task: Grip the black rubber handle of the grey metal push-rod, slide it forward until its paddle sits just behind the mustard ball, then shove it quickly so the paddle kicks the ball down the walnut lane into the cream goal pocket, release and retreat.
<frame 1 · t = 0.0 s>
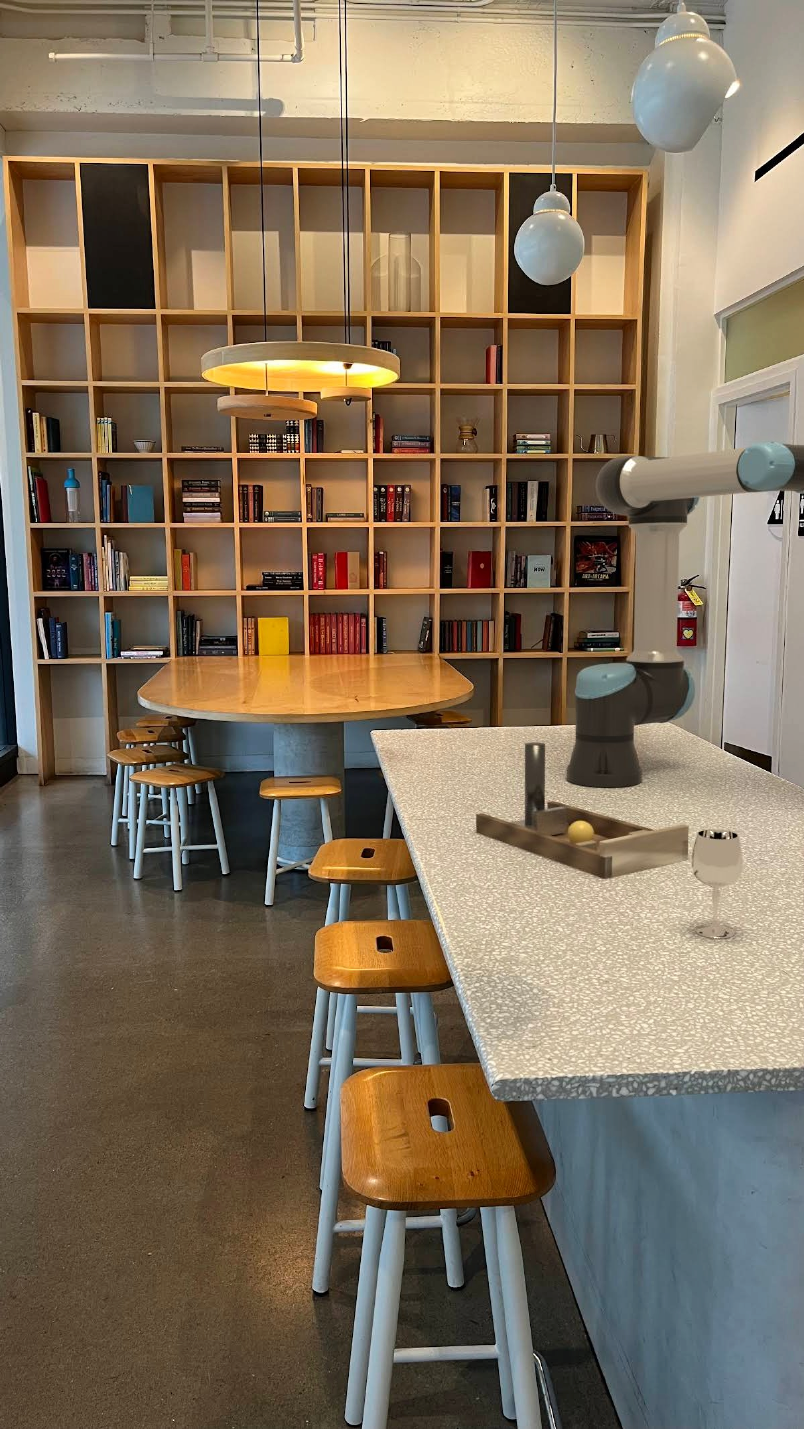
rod: (537, 787, 163), point 9 cm above the countertop, slide at 0.0 cm
wineglass: (714, 933, 122), on the countertop
ball: (580, 846, 155), point 1 cm above the countertop, touching lane
lane: (576, 852, 156), on the countertop
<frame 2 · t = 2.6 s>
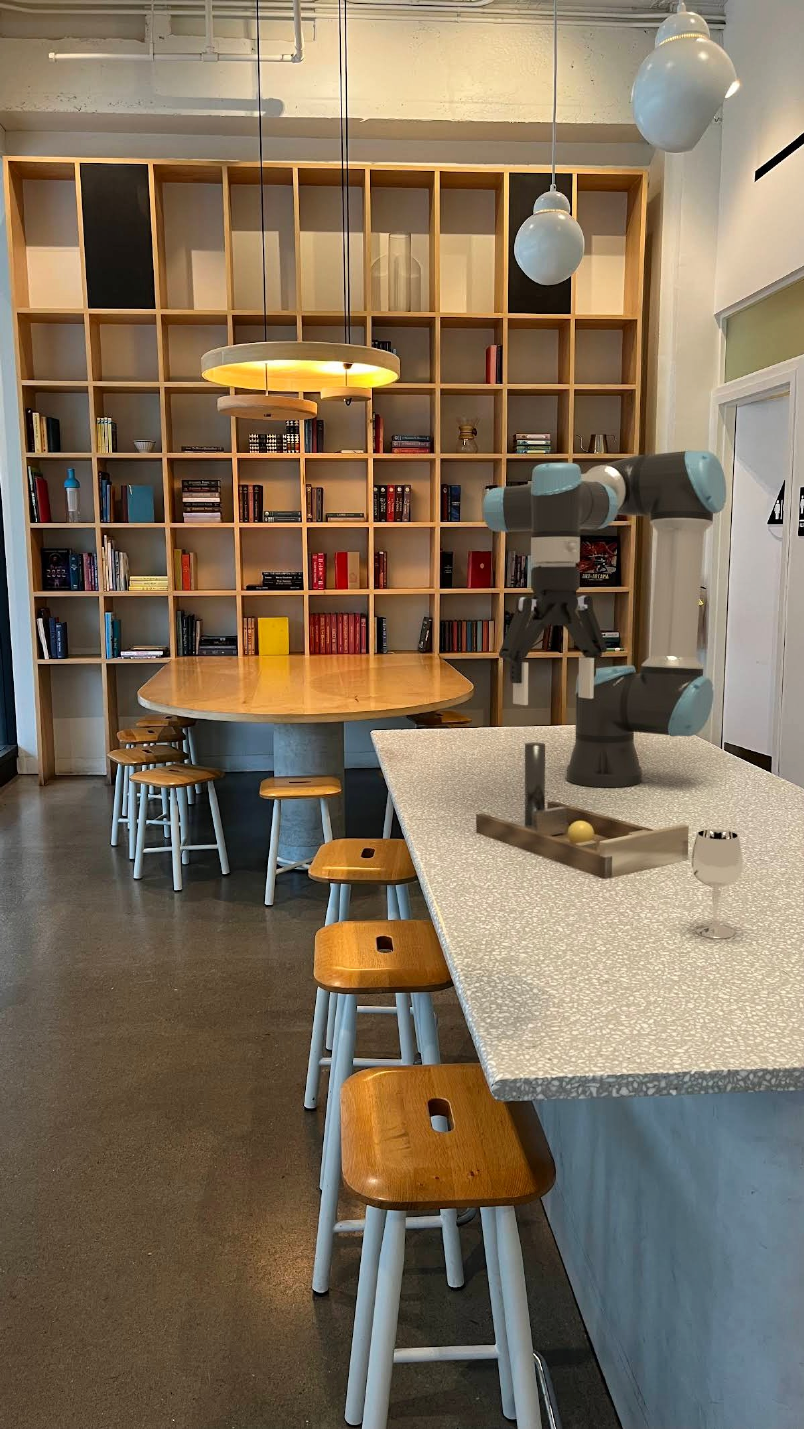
hand: (553, 701, 162), 22 cm above the countertop, fingers open, 13 cm apart
nothing on the countertop moved.
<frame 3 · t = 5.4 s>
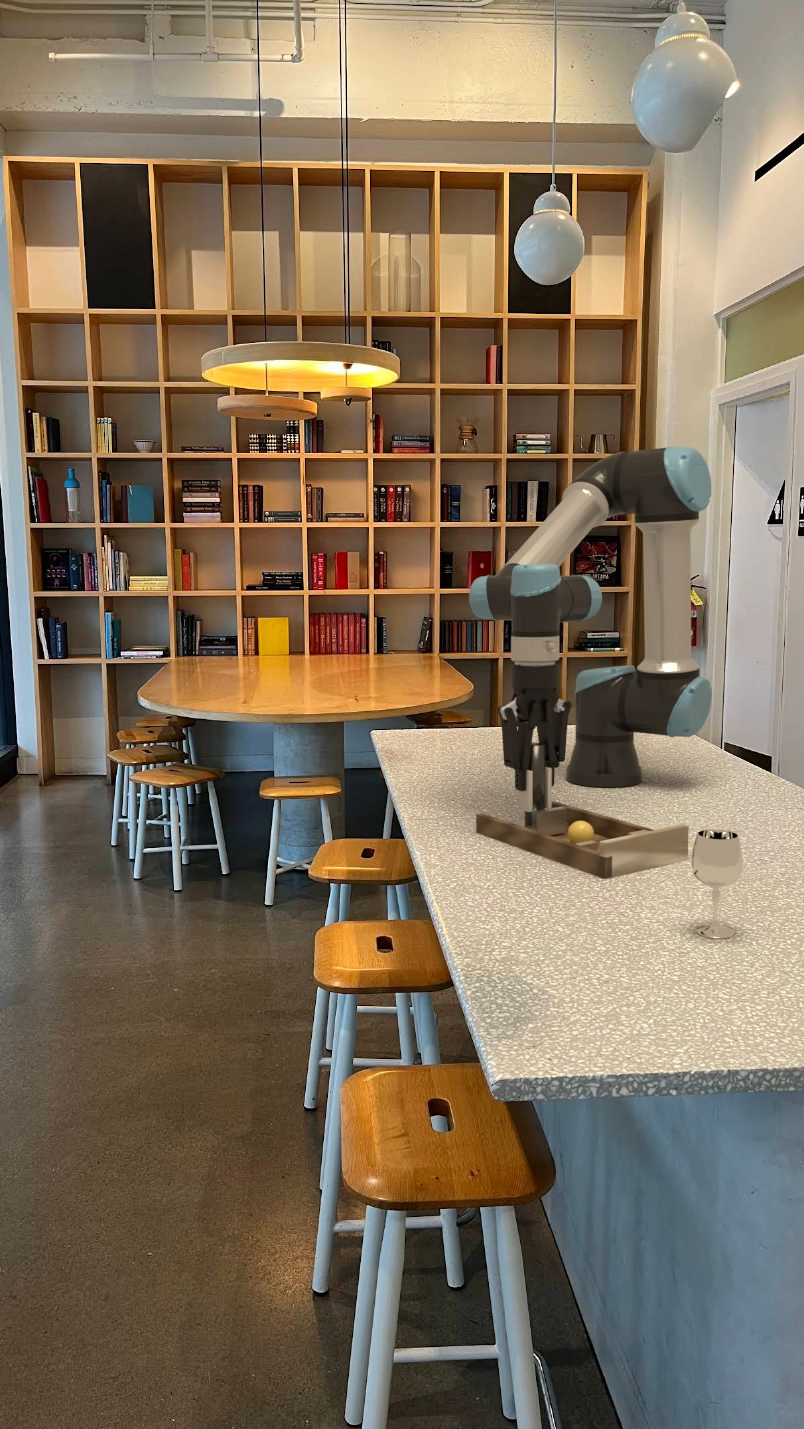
hand: (534, 808, 164), 5 cm above the countertop, fingers closed on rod, 3 cm apart
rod: (537, 787, 163), point 9 cm above the countertop, slide at 0.0 cm, touching gripper
everything else where it was.
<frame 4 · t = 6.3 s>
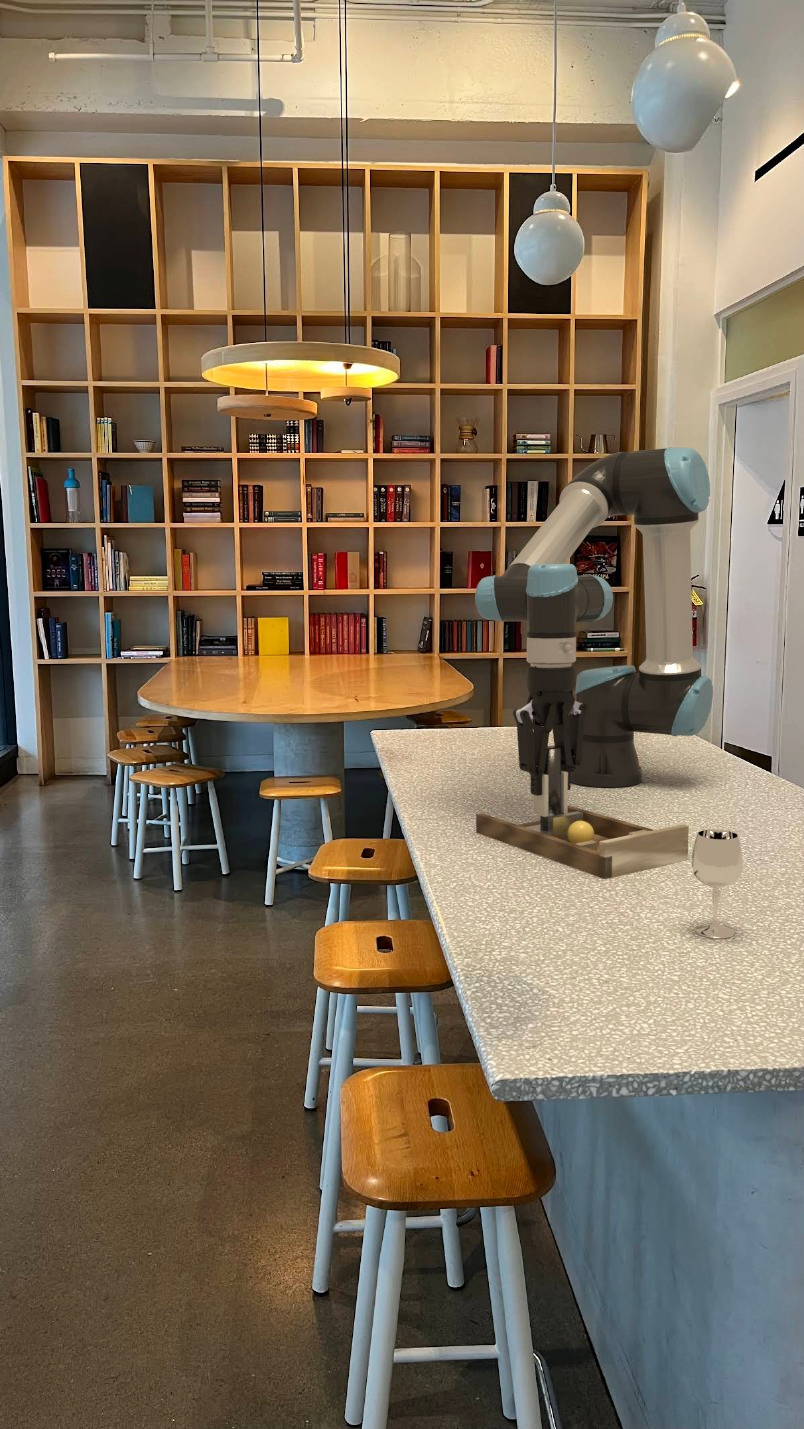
hand: (550, 812, 161), 5 cm above the countertop, fingers closed on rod, 3 cm apart
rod: (553, 792, 160), point 8 cm above the countertop, slide at 3.9 cm, touching gripper
everything else where it was.
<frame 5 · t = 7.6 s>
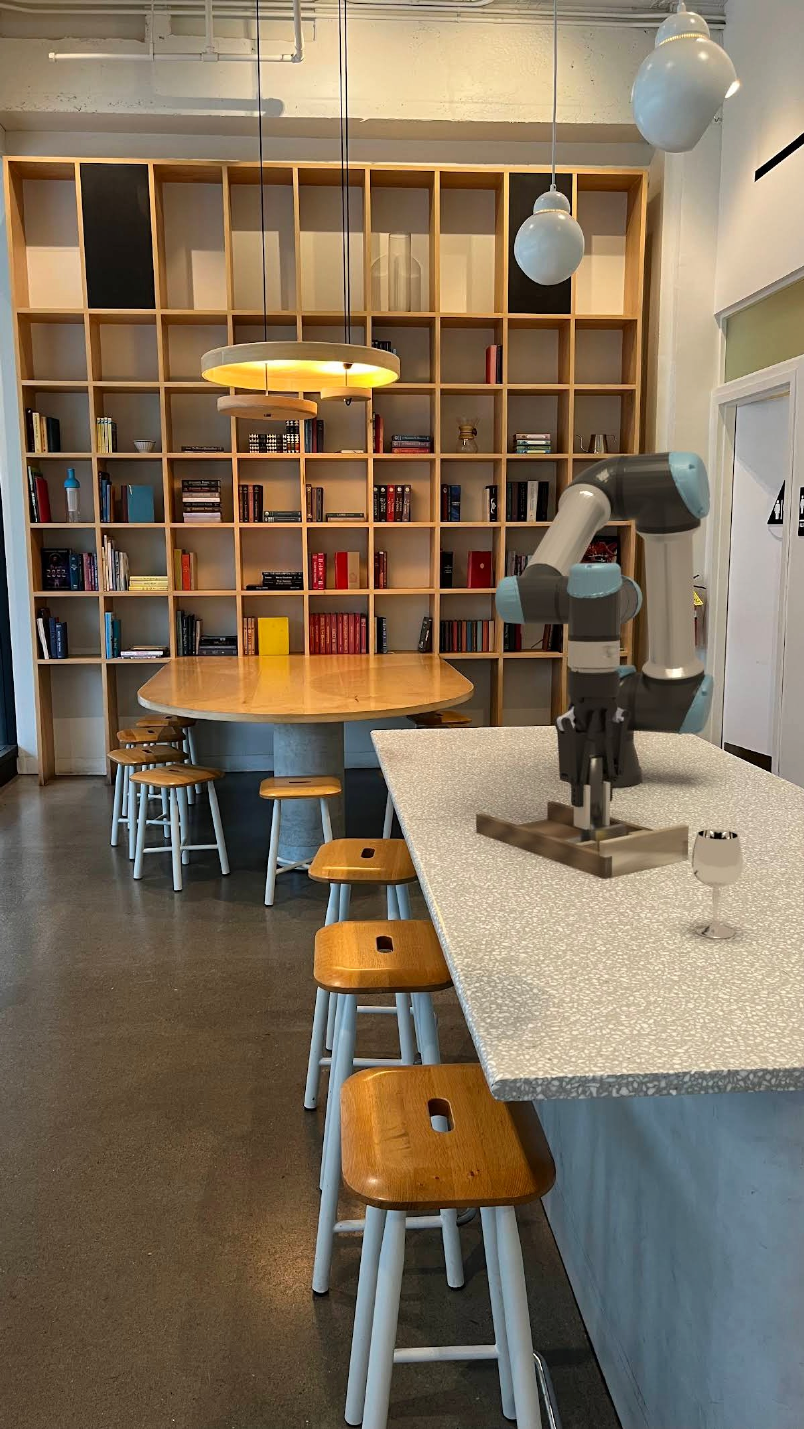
hand: (591, 825, 153), 5 cm above the countertop, fingers closed on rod, 3 cm apart
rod: (594, 803, 152), point 8 cm above the countertop, slide at 13.4 cm, touching gripper
ball: (639, 857, 145), point 2 cm above the countertop, tilted 67°, touching lane
everything else where it was.
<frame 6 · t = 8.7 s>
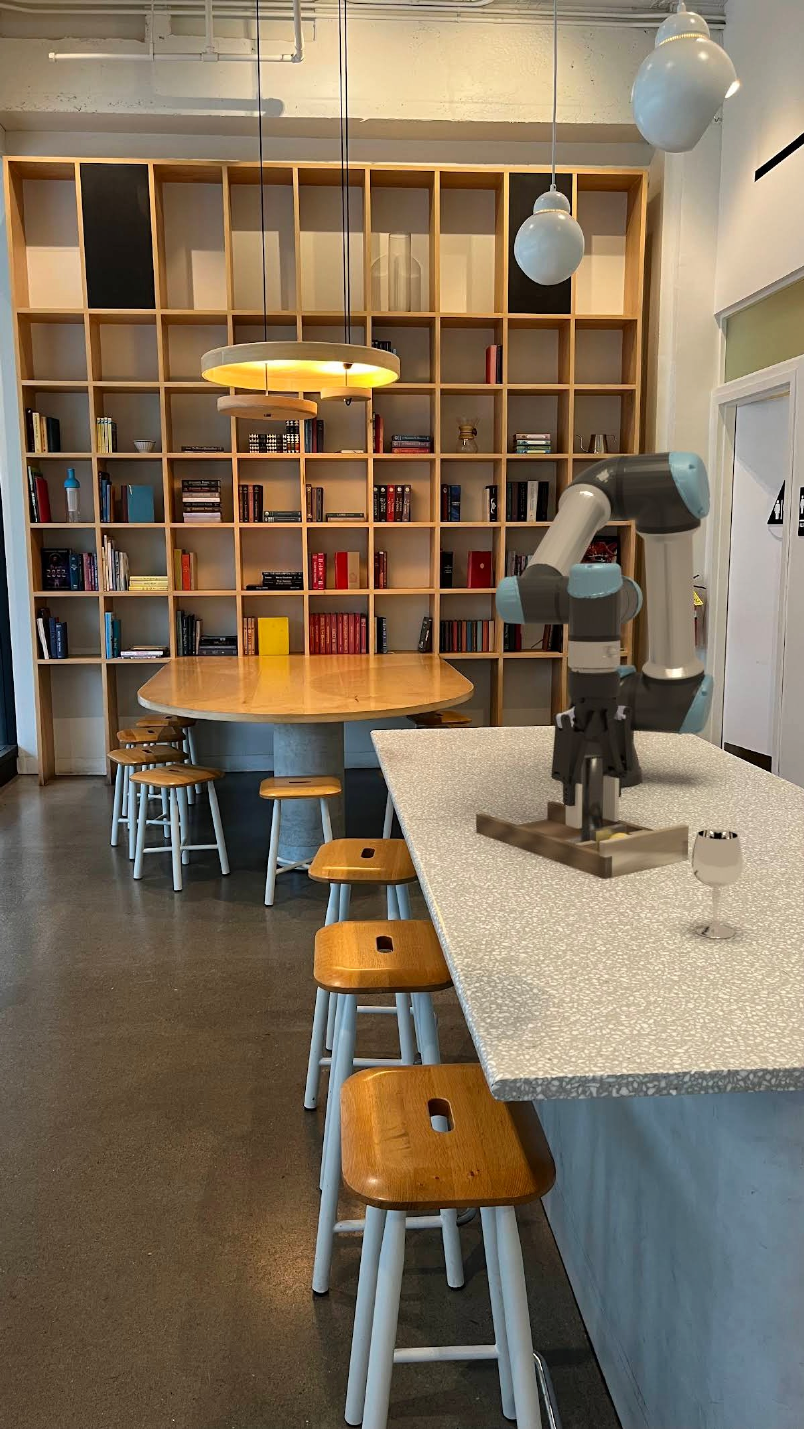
hand: (592, 822, 153), 5 cm above the countertop, fingers open, 7 cm apart
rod: (594, 803, 152), point 8 cm above the countertop, slide at 13.4 cm
ball: (629, 842, 146), point 4 cm above the countertop, tilted 119°, touching lane
everything else where it was.
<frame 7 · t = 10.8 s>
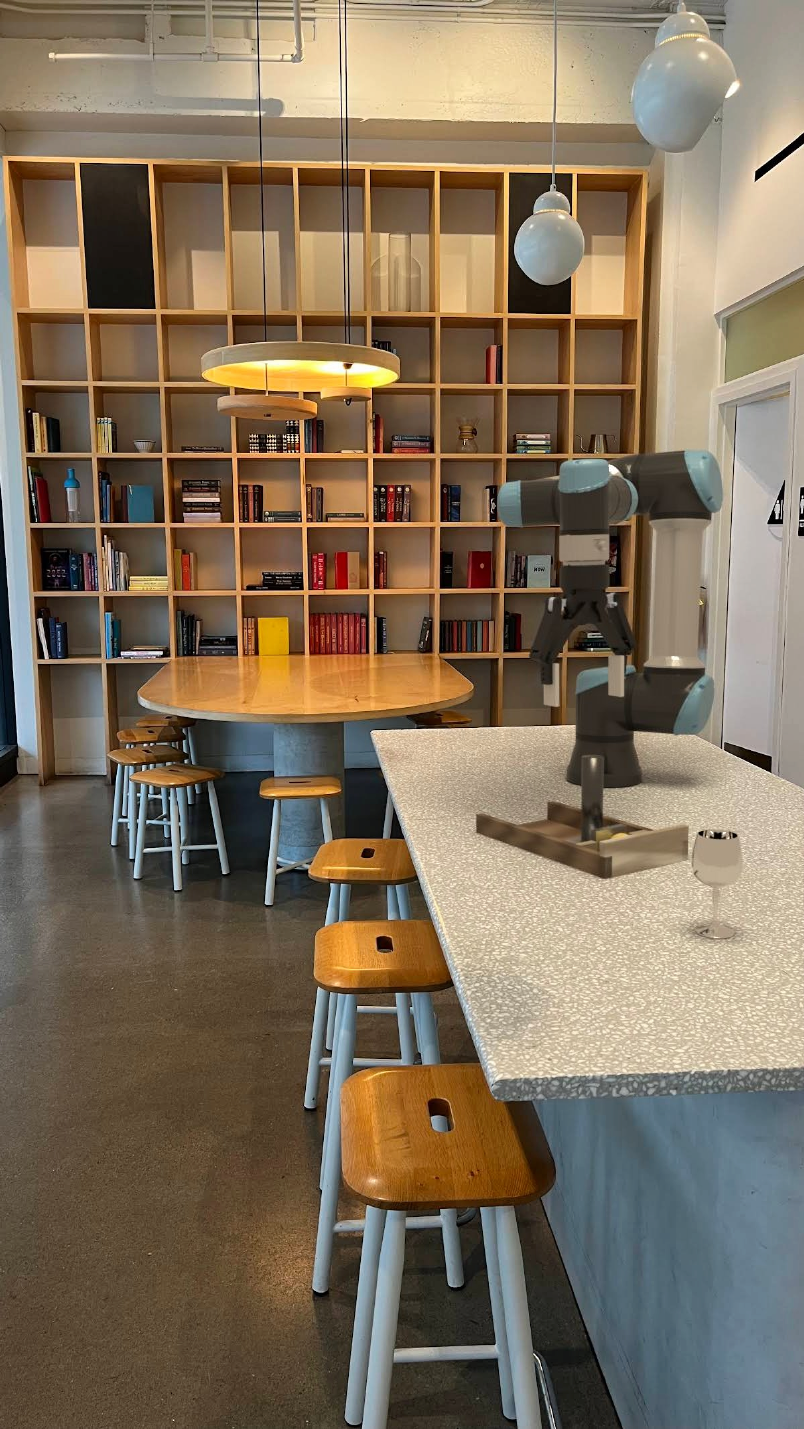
hand: (584, 700, 160), 23 cm above the countertop, fingers open, 13 cm apart
ball: (631, 844, 146), point 4 cm above the countertop, tilted 114°, touching lane
everything else where it was.
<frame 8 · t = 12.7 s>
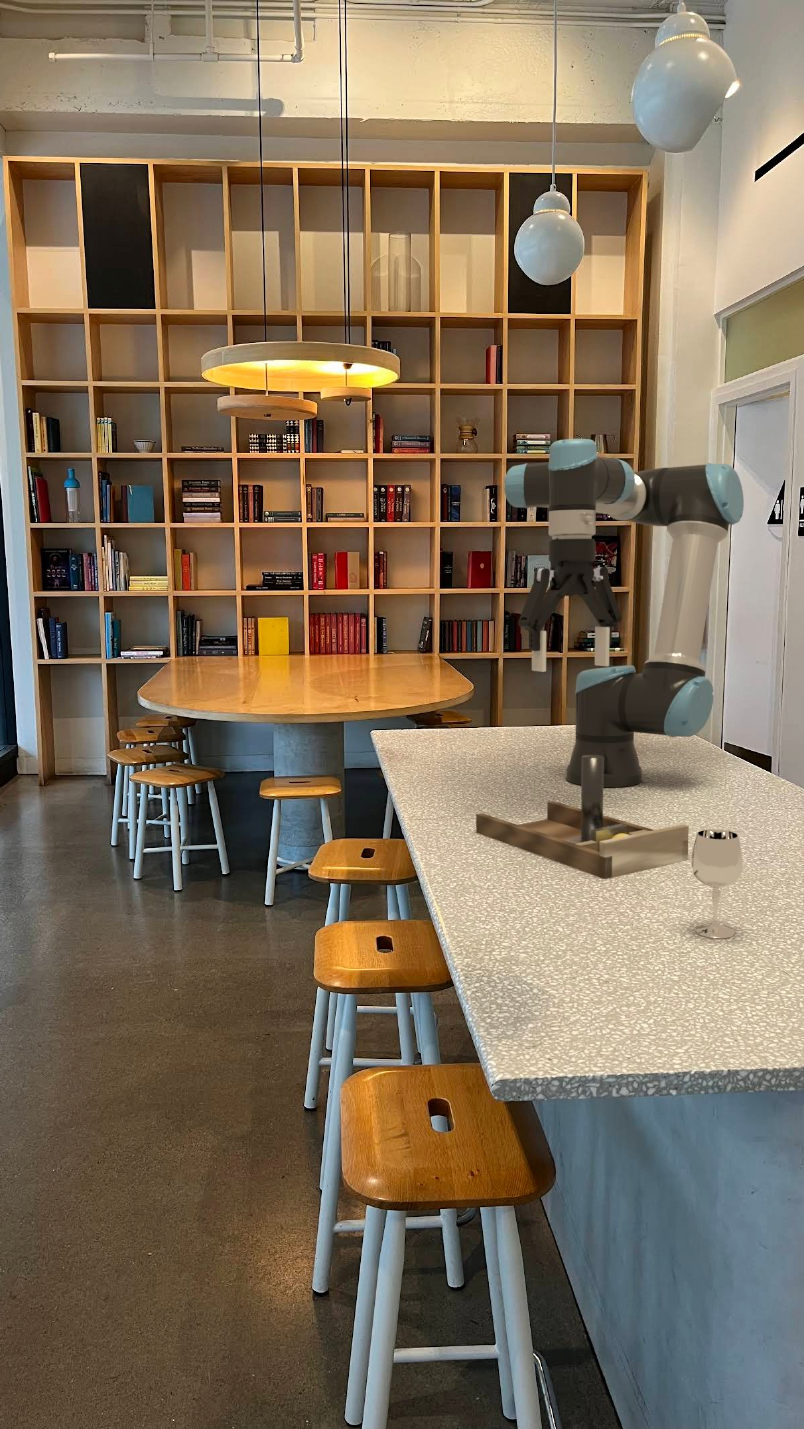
hand: (571, 668, 169), 27 cm above the countertop, fingers open, 13 cm apart
nothing on the countertop moved.
at the end: ball inside the target area on the lane (1.3 cm from its centre), point 3.9 cm above the lane's base; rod slide at 13.4 cm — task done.
